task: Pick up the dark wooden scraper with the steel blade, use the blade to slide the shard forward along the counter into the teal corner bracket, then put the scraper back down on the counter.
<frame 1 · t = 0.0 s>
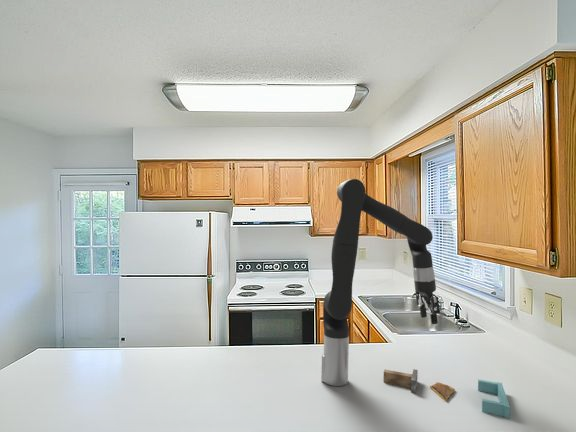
hand: (429, 320, 140), 22 cm above the counter, tool pointing down, fingers open, 8 cm apart
shard: (446, 395, 129), on the counter
corner bracket: (491, 401, 123), on the counter
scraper: (397, 383, 135), on the counter
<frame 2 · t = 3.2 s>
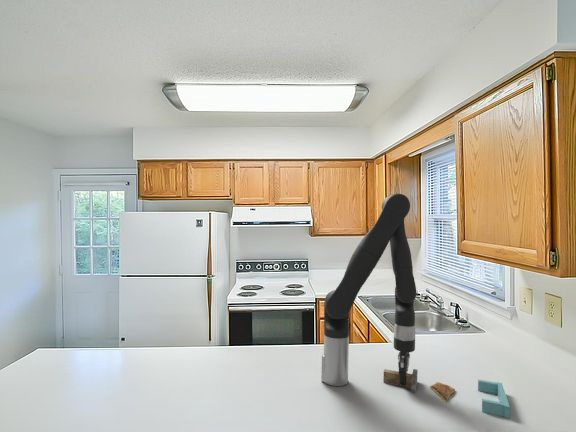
hand: (403, 383, 135), 1 cm above the counter, tool pointing down, fingers closed on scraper, 2 cm apart
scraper: (397, 383, 135), on the counter, touching gripper
everything else where it was.
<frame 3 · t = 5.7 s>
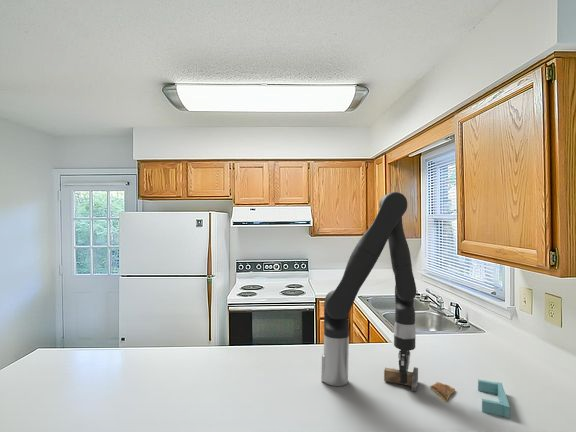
hand: (403, 381, 135), 1 cm above the counter, tool pointing down, fingers closed on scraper, 2 cm apart
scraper: (398, 381, 135), point 1 cm above the counter, touching gripper
everything else where it was.
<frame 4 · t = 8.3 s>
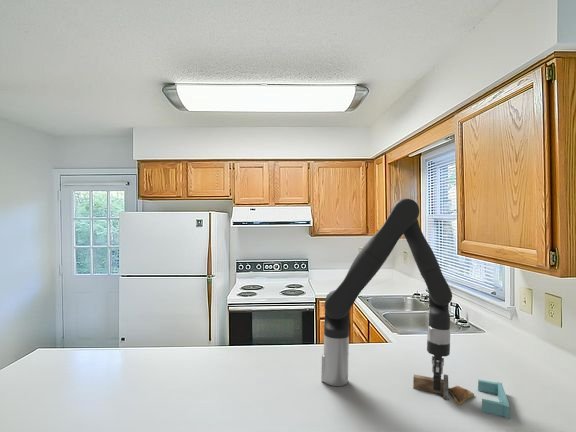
hand: (436, 388, 130), 1 cm above the counter, tool pointing down, fingers closed on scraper, 2 cm apart
shard: (463, 399, 126), on the counter
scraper: (428, 389, 131), on the counter, touching gripper
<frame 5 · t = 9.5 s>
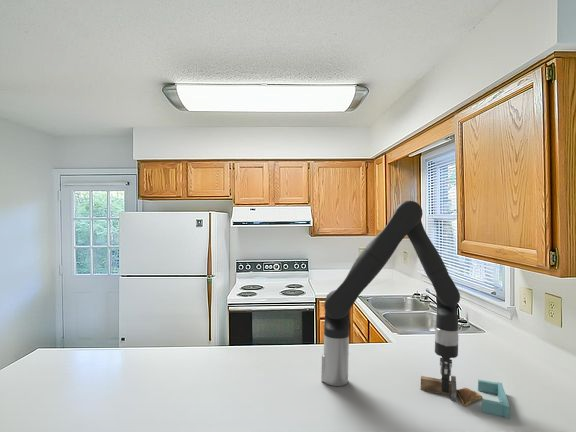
hand: (445, 389, 129), 1 cm above the counter, tool pointing down, fingers closed on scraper, 2 cm apart
shard: (471, 401, 125), on the counter
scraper: (435, 391, 130), on the counter, touching gripper
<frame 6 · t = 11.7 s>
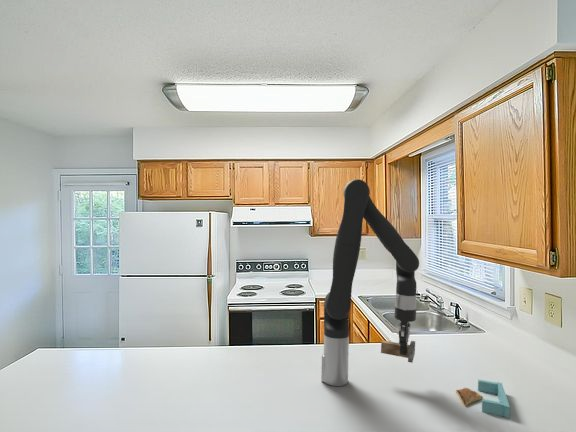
hand: (403, 353, 134), 12 cm above the counter, tool pointing down, fingers closed on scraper, 2 cm apart
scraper: (395, 354, 136), point 11 cm above the counter, touching gripper
everything else where it was.
when the fingers open (2 cm above the counter, at t = 13.9 s): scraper stays where it is, on the counter.
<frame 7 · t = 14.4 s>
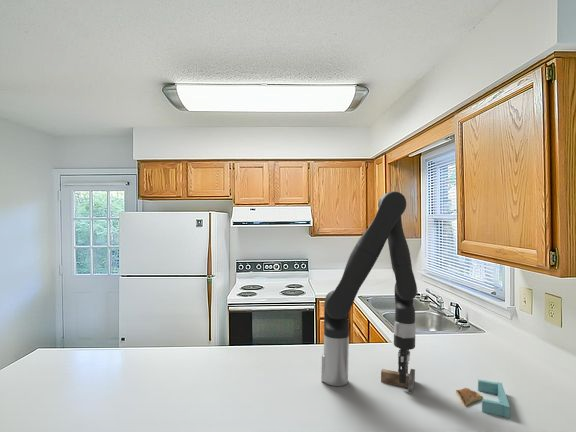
hand: (403, 378, 135), 2 cm above the counter, tool pointing down, fingers open, 7 cm apart
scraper: (395, 383, 136), on the counter
everything else where it was.
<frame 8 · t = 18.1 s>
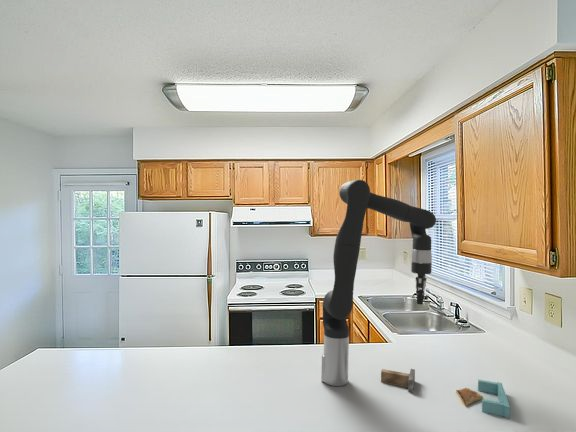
hand: (420, 301, 146), 28 cm above the counter, tool pointing down, fingers open, 8 cm apart
nothing on the counter moved.
at the end: shard inside the target area (3.2 cm from its centre), on the counter; shard tilted 0°; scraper touching counter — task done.
